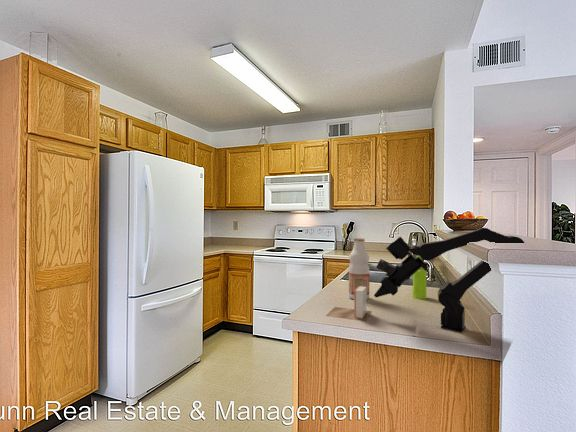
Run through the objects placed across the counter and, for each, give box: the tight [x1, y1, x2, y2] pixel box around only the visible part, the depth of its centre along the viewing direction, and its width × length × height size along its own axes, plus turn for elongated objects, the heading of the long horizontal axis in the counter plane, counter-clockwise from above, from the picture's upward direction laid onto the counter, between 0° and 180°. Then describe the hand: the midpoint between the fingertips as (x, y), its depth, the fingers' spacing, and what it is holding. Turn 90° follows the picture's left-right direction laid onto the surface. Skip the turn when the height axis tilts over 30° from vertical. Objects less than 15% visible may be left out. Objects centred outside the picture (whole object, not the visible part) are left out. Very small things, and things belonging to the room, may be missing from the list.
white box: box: [353, 286, 367, 318], centre depth 120 cm, size 3×8×10 cm, turn 156°
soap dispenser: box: [412, 255, 427, 300], centre depth 149 cm, size 6×7×20 cm
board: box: [325, 306, 372, 322], centre depth 122 cm, size 15×13×1 cm
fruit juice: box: [348, 237, 370, 301], centre depth 148 cm, size 9×9×28 cm
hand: (374, 296), depth 118 cm, fingers closed
